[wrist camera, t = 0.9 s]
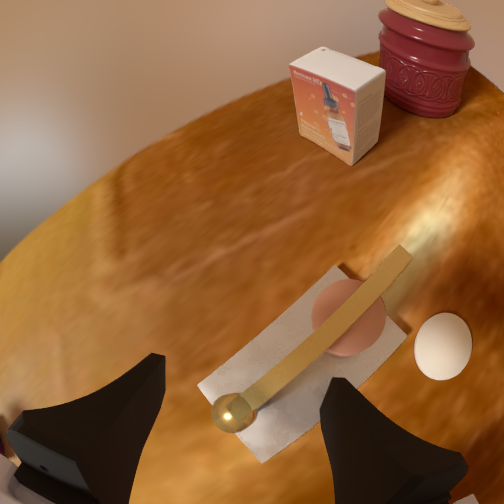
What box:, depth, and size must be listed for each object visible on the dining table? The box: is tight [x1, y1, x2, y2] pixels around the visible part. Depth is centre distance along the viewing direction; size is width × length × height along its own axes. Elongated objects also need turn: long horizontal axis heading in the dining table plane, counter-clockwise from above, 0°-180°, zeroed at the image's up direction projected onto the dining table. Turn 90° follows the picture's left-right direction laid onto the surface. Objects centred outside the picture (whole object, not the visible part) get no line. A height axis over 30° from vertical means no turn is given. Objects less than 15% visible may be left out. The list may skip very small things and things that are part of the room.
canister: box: [378, 0, 475, 118], centre depth 25 cm, size 13×13×18 cm
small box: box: [289, 46, 386, 166], centre depth 27 cm, size 8×6×10 cm
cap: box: [311, 279, 386, 357], centre depth 19 cm, size 5×5×4 cm
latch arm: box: [211, 245, 413, 433], centre depth 16 cm, size 15×2×2 cm, turn 130°
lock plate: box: [197, 265, 407, 463], centre depth 20 cm, size 9×16×7 cm, turn 130°
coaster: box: [414, 313, 472, 380], centre depth 20 cm, size 6×6×1 cm
